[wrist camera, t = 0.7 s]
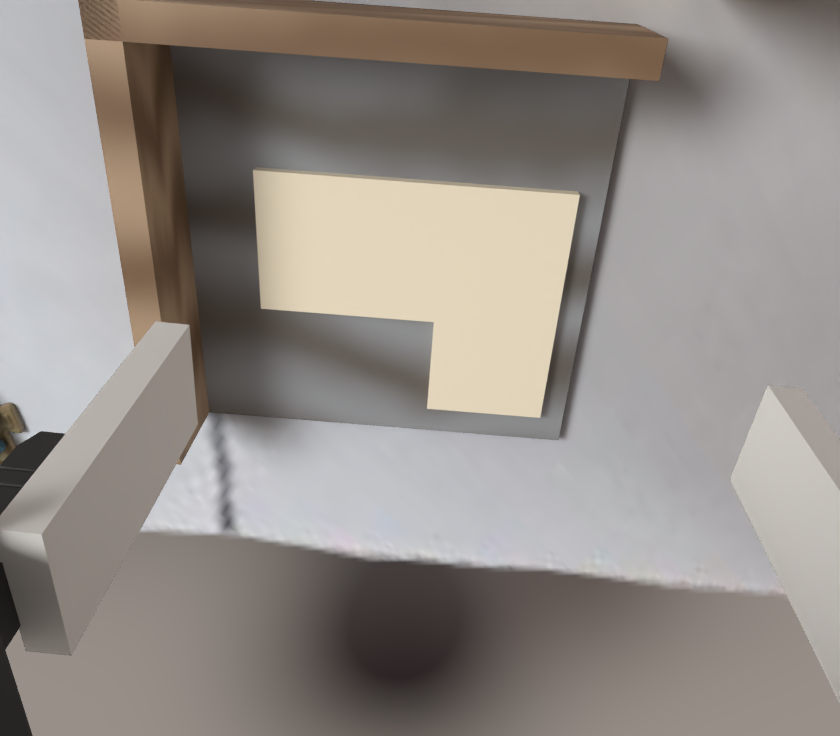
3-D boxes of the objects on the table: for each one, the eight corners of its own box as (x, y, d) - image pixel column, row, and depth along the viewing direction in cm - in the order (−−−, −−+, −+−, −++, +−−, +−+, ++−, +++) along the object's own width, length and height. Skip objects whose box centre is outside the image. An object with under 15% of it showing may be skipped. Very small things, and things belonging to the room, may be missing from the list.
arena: (135, -12, 34) (77, -5, 29) (637, 24, 34) (668, 38, 29) (187, 404, 47) (153, 462, 42) (557, 434, 46) (568, 496, 41)
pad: (255, 167, 38) (253, 170, 37) (578, 191, 38) (579, 195, 37) (268, 390, 45) (265, 395, 45) (539, 412, 45) (540, 417, 44)
